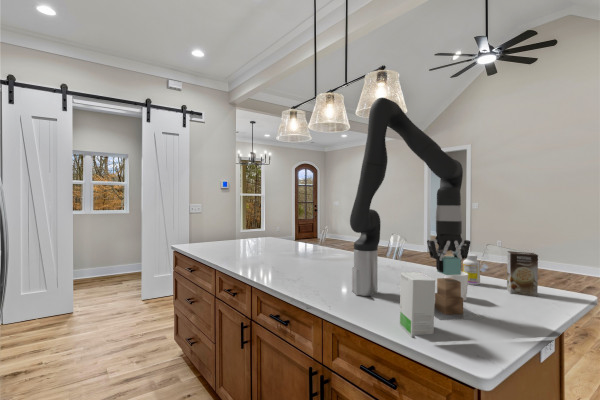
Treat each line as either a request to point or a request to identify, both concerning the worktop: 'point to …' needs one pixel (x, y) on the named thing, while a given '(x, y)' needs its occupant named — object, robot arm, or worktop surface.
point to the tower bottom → (448, 305)
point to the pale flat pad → (456, 315)
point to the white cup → (464, 282)
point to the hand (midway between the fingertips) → (448, 271)
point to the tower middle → (449, 288)
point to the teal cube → (451, 266)
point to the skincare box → (417, 303)
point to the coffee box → (522, 273)
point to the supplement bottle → (472, 269)
